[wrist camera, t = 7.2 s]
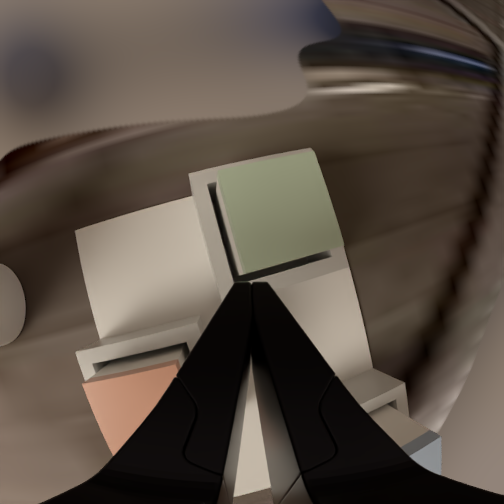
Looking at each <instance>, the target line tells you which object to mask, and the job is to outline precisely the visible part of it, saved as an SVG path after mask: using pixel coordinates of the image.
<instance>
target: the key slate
mask: <svg viewBox="0 0 504 504" xmlns="http://www.w3.org/2000/svg"><path fill="white" fill-rule="evenodd" d="M368 414H369V415H370V416H371V418H372V419H373V420H374V421H375V422H376V423H377V424H378V425H379V426H380V427H381V428H382V429H383V430H384V431H385V432H386V433H387V434H388V435H389V436H390V437H391V438H392V439H393V440H394V441H395V442H396V443H397V444H398V445H399V446H400V447H401V448H402V449H403V450H404V451H405V452H406V453H407V454H408V455H409V456H410V457H411V458H412V459H413V460H414V461H416V462H417V463H418V464H419V465H421V466H423V467H424V468H426V469H428V470H429V471H431V472H434V473H436V474H439V475H441V436H440V435H438V434H437V433H435V432H433V431H431V430H430V429H428V428H426V427H424V426H423V425H421V424H419V423H418V422H416V421H414V420H413V419H411V418H409V417H407V416H406V415H404V414H402V413H401V412H399V411H398V410H396V409H394V408H393V407H391V406H389V405H388V404H385V405H383V406H381V407H379V408H377V409H375V410H373V411H371V412H369V413H368Z"/></svg>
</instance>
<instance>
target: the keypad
mask: <svg viewBox="0 0 504 504" xmlns="http://www.w3.org/2000/svg"><path fill="white" fill-rule="evenodd" d="M310 151H312V149H311V148H307V149H301V150H296V151H290V152H285V153H279V154H274V155H269V156H264V157H259V158H254V159H250V160H245V161H240V162H236V163H231V164H227V165H222V166H218V167H214V168H210V169H206V170H201V171H197V172H193V173H189V179H190V185H191V190H192V196H190V197H186V198H183V199H179V200H175V201H171V202H168V203H164V204H161V205H157V206H153V207H150V208H146V209H143V210H139V211H136V212H133V213H129V214H126V215H123V216H119V217H116V218H113V219H109V220H106V221H103V222H100V223H97V224H93V225H90V226H87V227H84V228H81V229H78V230H75V234H76V240H77V245H78V251H79V256H80V261H81V266H82V271H83V275H84V280H85V284H86V288H87V292H88V296H89V300H90V304H91V308H92V312H93V316H94V319H95V323H96V326H97V330H98V333H99V337H100V340H99V341H97V342H95V343H93V344H91V345H88V346H86V347H84V348H82V349H80V350H78V351H76V355H77V359H78V362H79V365H80V368H81V370H82V373H83V376H84V379H85V381H87V380H88V379H89V378H90V377H92V376H93V375H94V374H96V373H97V372H98V371H99V370H101V369H102V368H103V367H105V366H106V365H107V364H109V363H110V362H111V361H112V360H114V359H116V358H121V357H125V356H130V355H134V354H139V353H143V352H147V351H151V350H156V349H160V348H164V347H168V346H172V345H176V344H180V343H184V342H187V345H188V348H189V351H190V352H191V350H192V349H193V347H194V345H195V344H196V342H197V341H198V339H199V338H200V336H201V334H202V333H203V331H204V330H205V328H206V326H207V325H208V323H209V322H210V320H211V318H212V317H213V315H214V314H215V312H216V311H217V309H218V307H219V306H220V304H221V303H222V301H223V299H224V298H225V296H226V295H227V293H228V291H229V290H230V288H231V287H232V285H233V284H234V282H237V281H246V282H250V283H251V284H252V282H268V283H269V284H270V285H271V287H272V288H273V290H274V291H275V292H276V294H277V295H278V296H279V298H280V299H281V300H282V302H283V303H284V304H285V306H286V307H287V309H288V310H289V311H290V313H291V314H292V315H293V317H294V318H295V319H296V321H297V322H298V324H299V325H300V326H301V328H302V329H303V330H304V332H305V333H306V334H307V336H308V337H309V338H310V340H311V341H312V342H313V344H314V345H315V347H316V348H317V349H318V351H319V352H320V353H321V355H322V356H323V357H324V359H325V360H326V361H327V363H328V364H329V365H330V367H331V368H332V370H333V371H334V372H335V376H338V377H339V379H340V380H341V382H342V383H343V384H344V386H345V387H346V388H347V390H348V391H349V392H350V393H351V395H352V396H353V397H354V398H355V400H356V401H357V402H358V403H359V404H360V406H361V407H362V408H363V409H364V410H365V411H366V412H367V413H369V412H371V411H373V410H375V409H377V408H379V407H381V406H383V405H385V404H388V405H389V406H391V407H393V408H394V409H396V410H398V411H399V412H401V413H402V414H404V415H406V416H407V417H409V410H408V402H407V395H406V387H405V383H404V382H402V381H400V380H398V379H396V378H393V377H391V376H389V375H387V374H385V373H382V372H380V371H378V370H376V369H374V368H373V366H372V361H371V356H370V351H369V346H368V342H367V337H366V333H365V328H364V324H363V320H362V315H361V311H360V307H359V303H358V299H357V295H356V291H355V287H354V283H353V279H352V276H351V272H350V268H349V265H348V261H347V257H346V254H345V250H344V247H343V246H340V247H337V248H333V249H330V250H327V251H324V252H320V253H317V254H314V255H310V256H307V257H304V258H300V259H297V260H293V261H290V262H286V263H283V264H279V265H276V266H272V267H269V268H265V269H262V270H258V271H254V272H251V273H247V274H244V275H240V276H237V277H235V276H234V273H233V269H232V266H231V262H230V258H229V255H228V251H227V248H226V244H225V240H224V237H223V233H222V229H221V226H220V222H219V218H218V214H217V211H216V207H215V198H216V185H217V172H218V170H222V169H226V168H231V167H235V166H240V165H244V164H249V163H253V162H258V161H263V160H268V159H273V158H278V157H283V156H288V155H294V154H299V153H305V152H310ZM270 487H271V484H270V479H269V473H268V467H267V461H266V455H265V449H264V442H263V436H262V430H261V424H260V418H259V411H258V405H257V398H256V392H255V386H254V379H253V373H252V364H251V365H250V375H249V383H248V391H247V399H246V407H245V414H244V422H243V430H242V437H241V445H240V452H239V460H238V467H237V475H236V482H235V489H234V496H233V497H235V496H240V495H244V494H248V493H252V492H255V491H259V490H263V489H266V488H270Z"/></svg>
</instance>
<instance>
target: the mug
mask: <svg viewBox="0 0 504 504" xmlns="http://www.w3.org/2000/svg"><path fill="white" fill-rule="evenodd" d="M25 314H26V304H25V297H24V292H23V289H22V286H21V284H20V282H19V280H18V278H17V276H16V275H15V274H14V272H13V271H12V270H11V269H10V268H8V267H7V266H5V265H3V264H0V346H3V345H6V344H9V343H11V342H12V341H14V340H15V339H16V338H17V337H18V335H19V334H20V332H21V330H22V328H23V325H24V321H25Z"/></svg>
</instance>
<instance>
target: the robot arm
mask: <svg viewBox="0 0 504 504" xmlns="http://www.w3.org/2000/svg"><path fill="white" fill-rule="evenodd" d="M251 364H252V373H253V379H254V386H255V392H256V398H257V405H258V411H259V418H260V424H261V430H262V436H263V442H264V449H265V455H266V461H267V467H268V473H269V479H270V484H271V490H272V496H273V502H274V504H504V495H501V494H497V493H493V492H490V491H487V490H483V489H480V488H477V487H473V486H470V485H467V484H464V483H461V482H458V481H455V480H452V479H449V478H447V477H444V476H441V475H439V474H436V473H434V472H431V471H429V470H428V469H426V468H424V467H423V466H421V465H419V464H418V463H417V462H416V461H414V460H413V459H412V458H411V457H410V456H409V455H408V454H407V453H406V452H405V451H404V450H403V449H402V448H401V447H400V446H399V445H398V444H397V443H396V442H395V441H394V440H393V439H392V438H391V437H390V436H389V435H388V434H387V433H386V432H385V431H384V430H383V429H382V428H381V427H380V426H379V425H378V424H377V423H376V422H375V421H374V420H373V419H372V418H371V416H370V415H369V414H368V413H367V412H366V411H365V410H364V409H363V408H362V407H361V406H360V404H359V403H358V402H357V401H356V400H355V398H354V397H353V396H352V395H351V393H350V392H349V391H348V390H347V388H346V387H345V386H344V384H343V383H342V382H341V380H340V379H339V377H338V376H335V372H334V371H333V370H332V368H331V367H330V365H329V364H328V363H327V361H326V360H325V359H324V357H323V356H322V355H321V353H320V352H319V351H318V349H317V348H316V347H315V345H314V344H313V342H312V341H311V340H310V338H309V337H308V336H307V334H306V333H305V332H304V330H303V329H302V328H301V326H300V325H299V324H298V322H297V321H296V319H295V318H294V317H293V315H292V314H291V313H290V311H289V310H288V309H287V307H286V306H285V304H284V303H283V302H282V300H281V299H280V298H279V296H278V295H277V294H276V292H275V291H274V290H273V288H272V287H271V285H270V284H269V283H268V282H252V284H251V283H250V282H246V281H237V282H234V284H233V285H232V287H231V288H230V290H229V291H228V293H227V295H226V296H225V298H224V299H223V301H222V303H221V304H220V306H219V307H218V309H217V311H216V312H215V314H214V315H213V317H212V318H211V320H210V322H209V323H208V325H207V326H206V328H205V330H204V331H203V333H202V334H201V336H200V338H199V339H198V341H197V342H196V344H195V345H194V347H193V349H192V350H191V352H190V353H189V355H188V357H187V358H186V360H185V361H184V363H183V364H182V366H181V368H180V369H179V371H178V372H177V374H176V377H174V378H173V380H172V382H171V383H170V385H169V386H168V388H167V390H166V391H165V392H164V394H163V395H162V397H161V398H160V400H159V401H158V403H157V404H156V406H155V407H154V408H153V410H152V411H151V412H150V413H149V415H148V416H147V417H146V418H145V420H144V421H143V422H142V423H141V425H140V426H139V427H138V428H137V429H136V430H135V432H134V433H133V434H132V435H131V436H130V437H129V439H128V440H127V441H126V442H125V443H124V444H123V446H122V447H121V448H120V449H119V450H118V451H117V453H116V454H115V455H114V456H113V457H112V458H111V459H110V461H109V462H108V463H107V464H106V465H105V466H104V467H103V468H102V469H101V470H100V471H99V472H98V473H97V474H95V475H94V476H93V477H92V478H90V479H89V480H87V481H85V482H84V483H82V484H80V485H78V486H76V487H74V488H72V489H70V490H68V491H66V492H64V493H62V494H59V495H57V496H55V497H53V498H51V499H48V500H46V501H44V502H42V503H39V504H233V496H234V489H235V482H236V475H237V467H238V460H239V452H240V445H241V437H242V430H243V422H244V414H245V407H246V399H247V391H248V383H249V375H250V365H251Z"/></svg>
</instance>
